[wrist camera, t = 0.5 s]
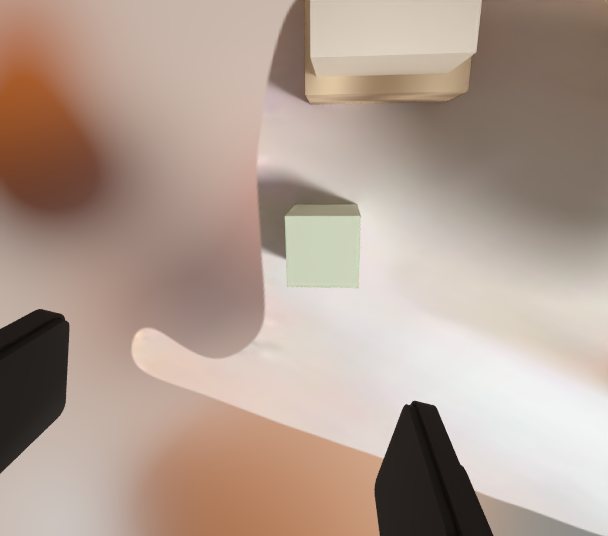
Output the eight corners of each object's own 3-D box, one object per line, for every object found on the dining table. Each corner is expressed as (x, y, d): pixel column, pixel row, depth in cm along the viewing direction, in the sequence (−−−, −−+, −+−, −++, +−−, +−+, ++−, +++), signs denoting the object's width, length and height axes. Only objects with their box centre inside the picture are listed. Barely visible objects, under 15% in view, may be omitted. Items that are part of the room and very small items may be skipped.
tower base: (461, -63, 25) (489, -114, 20) (446, 101, 28) (468, 91, 23) (310, -53, 26) (303, -100, 21) (311, 104, 29) (305, 95, 24)
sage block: (357, 204, 30) (360, 215, 25) (355, 263, 32) (358, 288, 26) (295, 204, 31) (284, 215, 25) (296, 263, 32) (286, 286, 27)
